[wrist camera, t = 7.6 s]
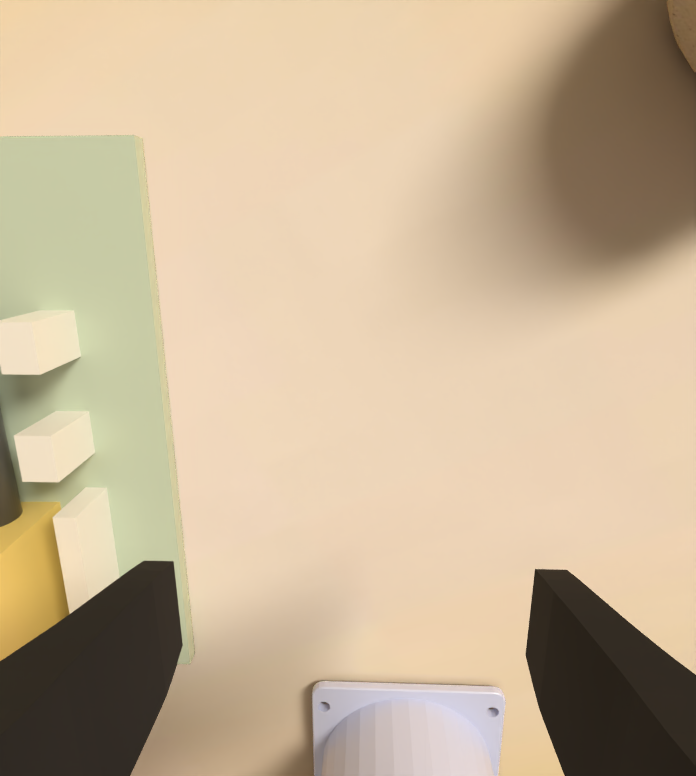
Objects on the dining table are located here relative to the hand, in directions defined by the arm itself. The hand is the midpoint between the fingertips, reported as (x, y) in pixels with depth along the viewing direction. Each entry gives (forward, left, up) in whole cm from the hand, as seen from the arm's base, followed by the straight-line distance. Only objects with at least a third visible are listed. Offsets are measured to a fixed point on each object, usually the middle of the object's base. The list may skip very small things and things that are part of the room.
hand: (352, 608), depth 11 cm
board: (0, +13, -9) cm, 16 cm away
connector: (-1, +13, -9) cm, 16 cm away
